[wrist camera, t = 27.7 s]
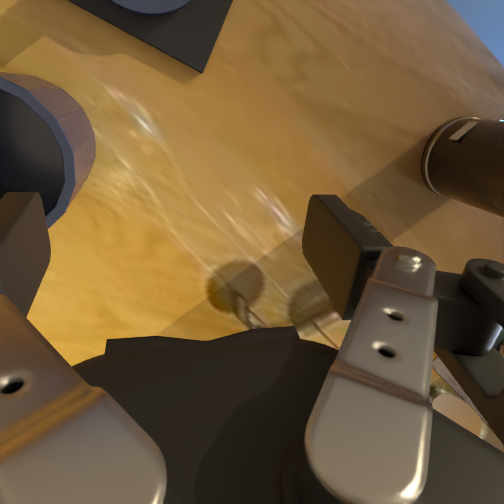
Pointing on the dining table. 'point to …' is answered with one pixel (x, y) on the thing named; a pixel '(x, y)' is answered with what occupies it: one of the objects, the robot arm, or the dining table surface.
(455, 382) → the plated dish
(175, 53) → the mat
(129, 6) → the lid
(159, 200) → the dining table surface
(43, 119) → the canister
